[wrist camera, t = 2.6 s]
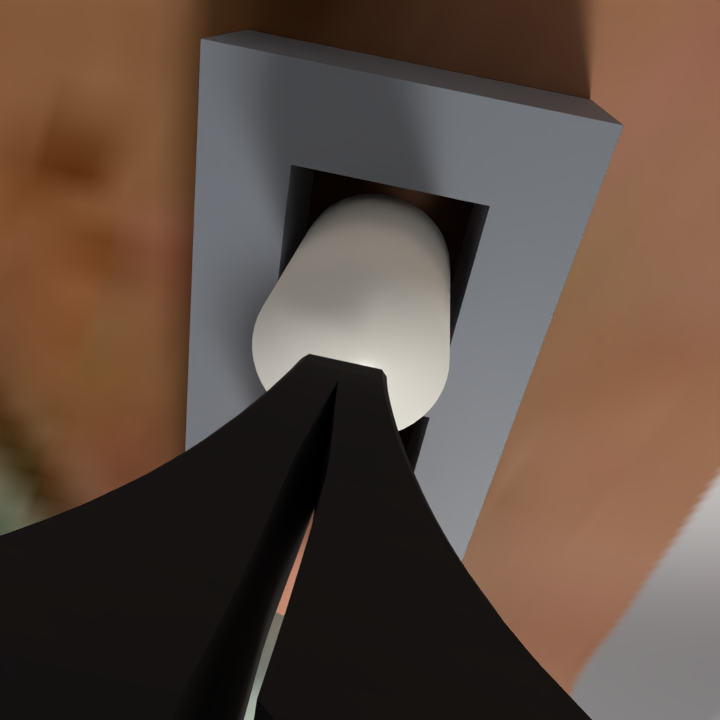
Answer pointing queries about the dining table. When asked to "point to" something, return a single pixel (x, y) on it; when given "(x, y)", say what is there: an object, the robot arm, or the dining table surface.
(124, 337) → the dining table surface
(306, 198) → the socket board
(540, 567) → the dining table surface
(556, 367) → the dining table surface
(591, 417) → the dining table surface
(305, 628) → the robot arm
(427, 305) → the plug cream
